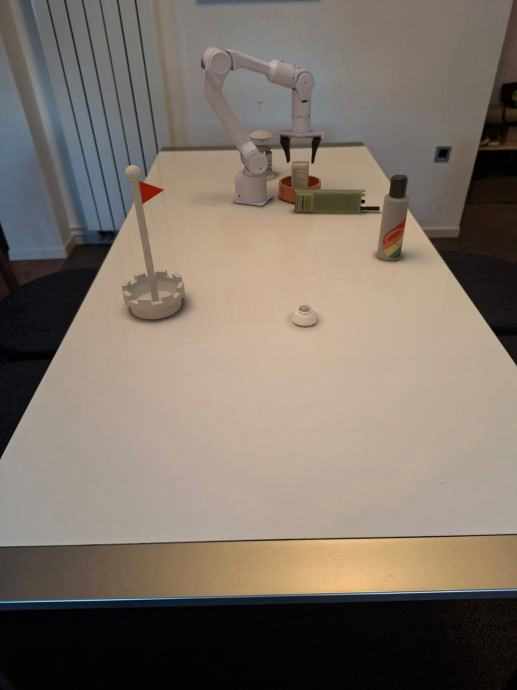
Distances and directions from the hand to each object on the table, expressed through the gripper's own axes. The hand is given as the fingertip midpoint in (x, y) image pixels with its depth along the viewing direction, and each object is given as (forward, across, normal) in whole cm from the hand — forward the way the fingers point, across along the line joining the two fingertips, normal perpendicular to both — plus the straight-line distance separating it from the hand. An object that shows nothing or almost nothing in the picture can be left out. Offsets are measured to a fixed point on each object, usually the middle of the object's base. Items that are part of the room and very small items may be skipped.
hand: (300, 162), depth 154 cm
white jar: (+10, +13, -72) cm, 74 cm away
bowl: (+10, 0, -2) cm, 10 cm away
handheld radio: (+11, +13, -13) cm, 21 cm away
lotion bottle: (+11, +29, -39) cm, 50 cm away
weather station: (+10, -17, +18) cm, 26 cm away
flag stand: (+10, -19, -72) cm, 76 cm away
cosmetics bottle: (+10, 0, -2) cm, 10 cm away
